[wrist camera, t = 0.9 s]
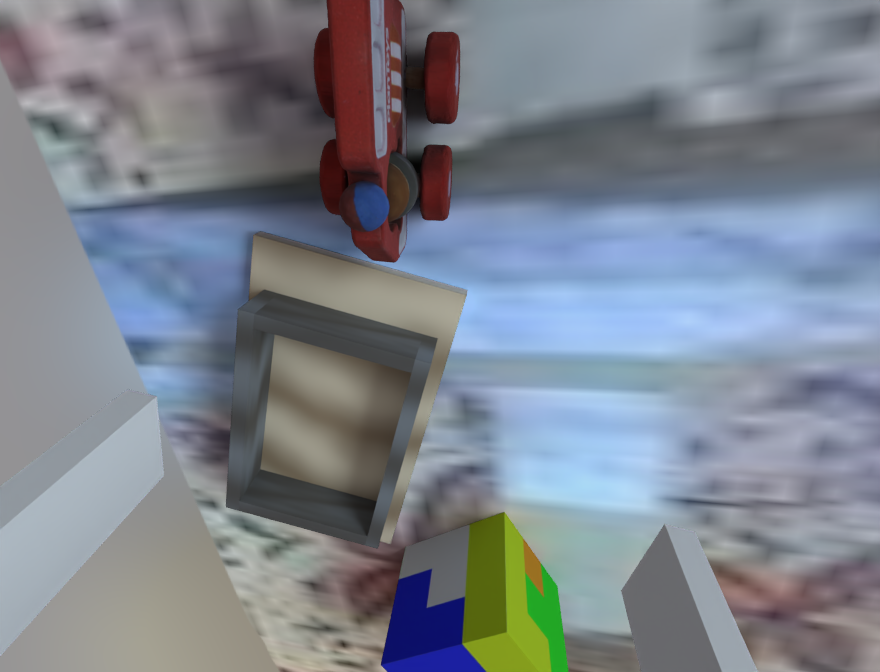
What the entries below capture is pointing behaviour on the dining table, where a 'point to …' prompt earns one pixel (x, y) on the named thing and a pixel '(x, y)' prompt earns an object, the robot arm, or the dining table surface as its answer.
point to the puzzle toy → (475, 605)
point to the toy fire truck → (382, 122)
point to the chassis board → (333, 388)
